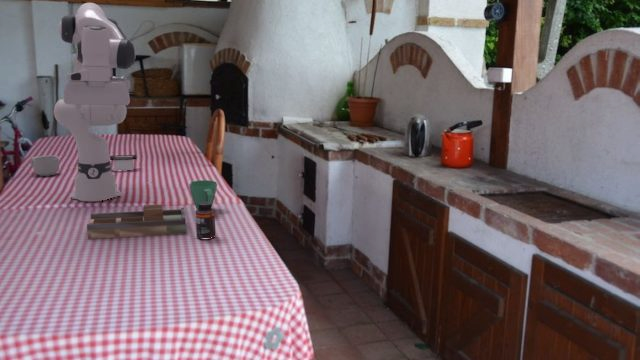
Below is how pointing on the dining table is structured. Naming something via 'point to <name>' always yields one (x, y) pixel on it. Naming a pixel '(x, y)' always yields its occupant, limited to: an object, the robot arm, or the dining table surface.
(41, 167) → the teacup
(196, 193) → the mug
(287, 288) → the dining table surface
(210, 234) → the supplement bottle
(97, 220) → the wooden compartment tray
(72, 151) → the dining table surface
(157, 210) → the block
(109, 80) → the robot arm
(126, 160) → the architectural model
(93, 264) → the dining table surface
